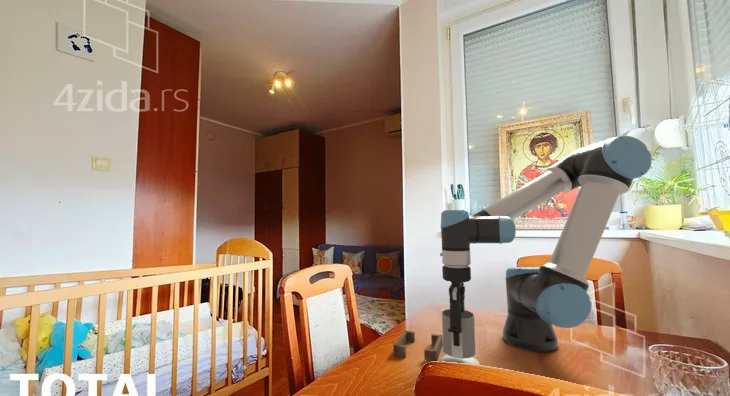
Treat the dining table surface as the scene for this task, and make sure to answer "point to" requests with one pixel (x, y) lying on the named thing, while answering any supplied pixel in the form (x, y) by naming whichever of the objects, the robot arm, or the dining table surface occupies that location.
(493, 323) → the dining table surface
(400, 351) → the pocket holder
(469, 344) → the cup
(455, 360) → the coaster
